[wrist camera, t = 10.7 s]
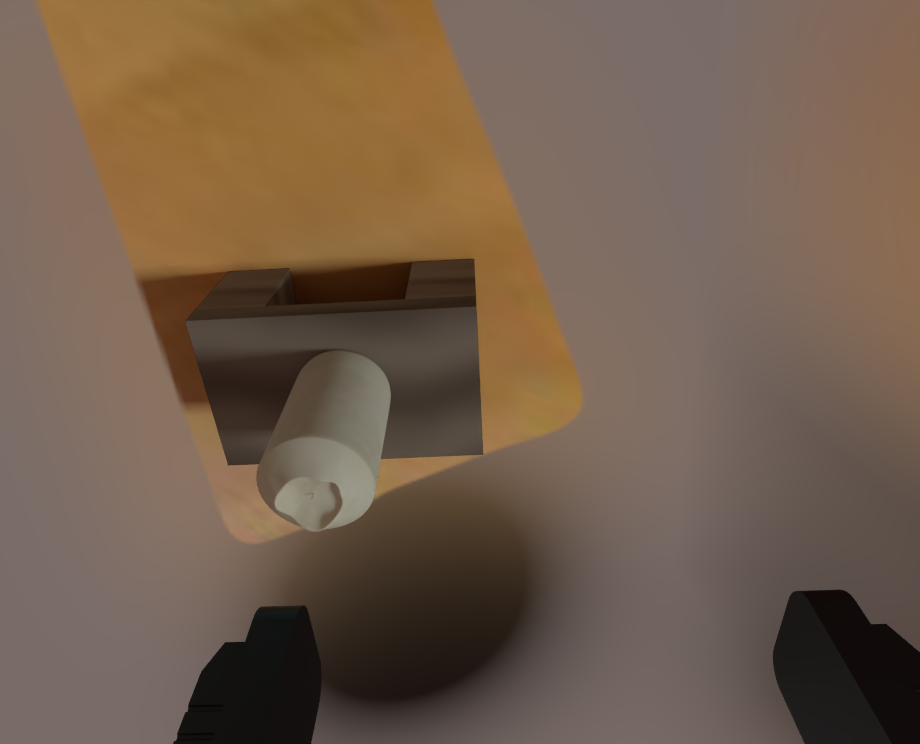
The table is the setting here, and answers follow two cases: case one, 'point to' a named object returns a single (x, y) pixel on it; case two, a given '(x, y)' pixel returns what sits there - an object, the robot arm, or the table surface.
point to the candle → (327, 442)
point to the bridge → (344, 328)
